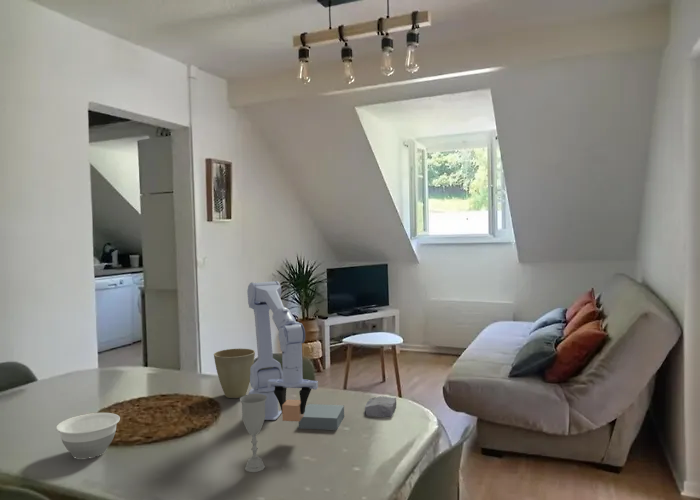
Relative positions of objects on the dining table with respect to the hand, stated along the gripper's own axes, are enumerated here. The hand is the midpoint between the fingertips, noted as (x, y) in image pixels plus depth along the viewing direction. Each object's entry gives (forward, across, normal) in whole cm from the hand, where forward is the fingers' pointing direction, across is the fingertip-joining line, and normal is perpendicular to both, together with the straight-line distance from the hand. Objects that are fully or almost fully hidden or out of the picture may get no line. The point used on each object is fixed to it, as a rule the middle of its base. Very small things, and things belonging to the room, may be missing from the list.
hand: (293, 412), depth 155 cm
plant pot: (+8, -33, +38) cm, 51 cm away
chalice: (+8, -5, -19) cm, 21 cm away
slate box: (+8, +5, +15) cm, 18 cm away
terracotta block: (+2, 0, 0) cm, 2 cm away
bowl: (+8, -54, -16) cm, 57 cm away
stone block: (+8, +22, +28) cm, 36 cm away
